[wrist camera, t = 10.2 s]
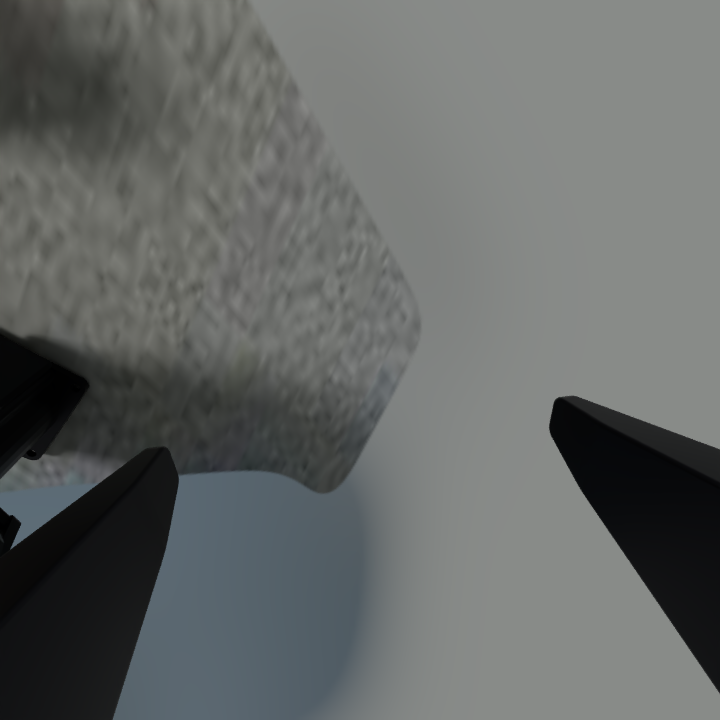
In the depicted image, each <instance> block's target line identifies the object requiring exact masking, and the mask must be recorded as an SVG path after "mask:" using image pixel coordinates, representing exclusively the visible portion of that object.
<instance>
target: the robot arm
mask: <svg viewBox="0 0 720 720" xmlns="http://www.w3.org/2000/svg"><path fill="white" fill-rule="evenodd" d="M74 384H76V385H78V386H79V387H80V388H77V387H75V386H74ZM88 388H89V384H88V382H87V381H86V380H85V379H84V378H82V377H80V376H78V375H76V374H74V373H72V372H71V371H69V370H67V369H65V368H63V367H61V366H59V365H57V364H55V363H53V362H51V361H49V360H47V359H46V358H44V357H42V356H40V355H38V354H36V353H34V352H32V351H30V350H28V349H26V348H24V347H23V346H21V345H19V344H17V343H15V342H13V341H11V340H9V339H7V338H5V337H3V336H1V335H0V479H1V478H2V477H3V476H4V475H5V474H6V473H7V472H8V471H9V470H10V469H11V468H12V467H13V465H14V464H15V463H16V462H17V461H18V460H19V459H20V458H21V457H24V458H27V459H30V460H37V459H39V458H41V456H42V455H43V454H44V453H45V452H46V450H47V449H48V447H49V446H50V444H51V443H52V442H53V440H54V439H55V437H56V436H57V434H58V433H59V431H60V430H61V428H62V427H63V425H64V424H65V422H66V421H67V419H68V418H69V417H70V415H71V414H72V412H73V411H74V409H75V408H76V406H77V405H78V403H79V402H80V400H81V399H82V397H83V396H84V394H85V393H86V392H87V390H88ZM549 430H550V434H551V436H552V438H553V440H554V442H555V444H556V446H557V447H558V449H559V451H560V453H561V455H562V457H563V458H564V460H565V462H566V464H567V466H568V468H569V469H570V471H571V473H572V475H573V477H574V479H575V481H576V482H577V484H578V486H579V487H580V489H581V491H582V492H583V494H584V495H585V497H586V498H587V500H588V501H589V503H590V504H591V506H592V507H593V509H594V510H595V512H596V513H597V515H598V516H599V518H600V519H601V520H602V522H603V523H604V525H605V526H606V528H607V529H608V531H609V532H610V534H611V535H612V537H613V538H614V539H615V541H616V542H617V544H618V545H619V547H620V548H621V550H622V551H623V552H624V554H625V556H626V557H627V559H628V560H629V561H630V563H631V564H632V566H633V567H634V569H635V570H636V572H637V573H638V575H639V576H640V577H641V579H642V580H643V582H644V583H645V585H646V586H647V588H648V589H649V591H650V592H651V594H652V595H653V597H654V598H655V599H656V601H657V602H658V604H659V605H660V607H661V608H662V610H663V611H664V613H665V614H666V615H667V617H668V618H669V620H670V621H671V623H672V624H673V626H674V627H675V629H676V630H677V632H678V633H679V635H680V636H681V638H682V639H683V640H684V642H685V643H686V645H687V646H688V648H689V649H690V651H691V652H692V654H693V655H694V657H695V658H696V659H697V661H698V662H699V664H700V665H701V667H702V668H703V670H704V671H705V673H706V674H707V676H708V677H709V678H710V680H711V681H712V683H713V684H714V686H715V687H716V689H717V690H718V692H719V693H720V449H717V448H715V447H712V446H709V445H707V444H704V443H701V442H698V441H695V440H693V439H690V438H687V437H685V436H682V435H679V434H677V433H674V432H671V431H669V430H666V429H663V428H661V427H658V426H655V425H652V424H650V423H647V422H644V421H642V420H639V419H636V418H633V417H630V416H628V415H625V414H622V413H620V412H617V411H614V410H612V409H609V408H607V407H604V406H601V405H598V404H595V403H593V402H590V401H588V400H585V399H582V398H579V397H577V396H565V397H559V398H557V399H556V400H555V401H554V404H553V409H552V414H551V419H550V424H549ZM32 450H33V451H32ZM34 451H35V452H34ZM178 483H179V477H178V473H177V470H176V467H175V465H174V462H173V459H172V457H171V454H170V452H169V450H168V448H166V447H164V446H162V447H153V448H147V449H145V450H143V451H142V452H141V453H139V454H138V455H137V456H135V457H134V458H133V459H131V460H130V461H129V462H127V463H126V464H125V465H123V466H122V467H121V468H119V469H118V470H117V471H115V472H114V473H112V474H111V475H110V476H108V477H107V478H106V479H104V480H103V481H102V482H100V483H99V484H98V485H96V486H95V487H94V488H92V489H91V490H90V491H89V492H87V493H86V494H84V495H83V496H82V497H80V498H79V499H78V500H76V501H75V502H74V503H72V504H71V505H70V506H68V507H67V508H66V509H64V510H63V511H61V512H60V513H59V514H57V515H56V516H55V517H53V518H52V519H51V520H50V521H48V522H47V523H46V524H44V525H43V526H42V527H40V528H39V529H37V530H36V531H35V532H33V533H32V534H31V535H29V536H28V537H27V538H25V539H24V540H23V541H21V542H20V543H19V544H17V545H16V546H15V547H13V548H12V549H10V548H11V546H12V544H13V542H14V539H15V537H16V535H17V532H18V530H19V528H20V526H21V522H20V521H19V520H17V519H16V518H15V517H14V516H13V515H10V516H9V515H8V514H7V513H6V512H5V511H3V509H2V508H0V720H113V716H114V713H115V710H116V707H117V704H118V700H119V697H120V694H121V691H122V687H123V685H124V681H125V678H126V675H127V672H128V669H129V665H130V662H131V659H132V656H133V653H134V649H135V646H136V643H137V640H138V637H139V634H140V630H141V627H142V624H143V621H144V618H145V614H146V611H147V608H148V605H149V602H150V598H151V595H152V592H153V589H154V586H155V582H156V579H157V576H158V573H159V570H160V566H161V563H162V560H163V557H164V553H165V549H166V545H167V541H168V536H169V530H170V525H171V520H172V515H173V510H174V504H175V500H176V494H177V489H178Z"/></svg>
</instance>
